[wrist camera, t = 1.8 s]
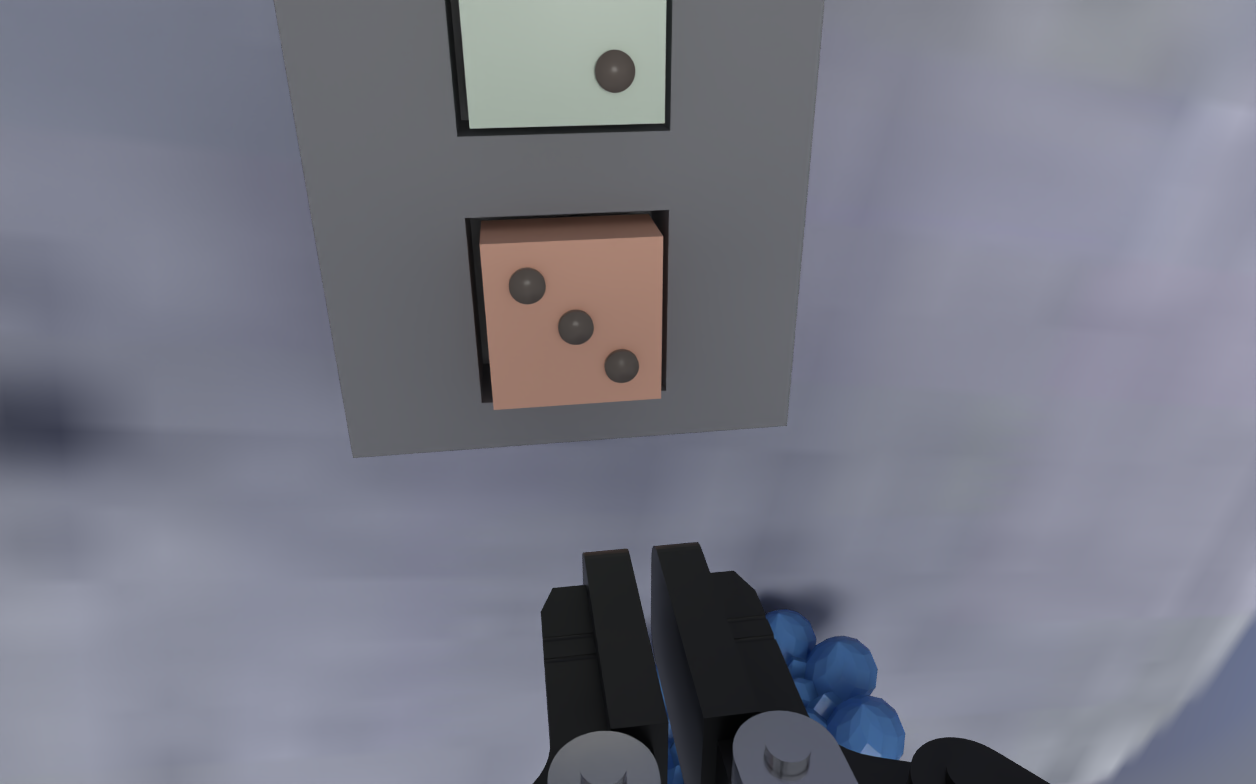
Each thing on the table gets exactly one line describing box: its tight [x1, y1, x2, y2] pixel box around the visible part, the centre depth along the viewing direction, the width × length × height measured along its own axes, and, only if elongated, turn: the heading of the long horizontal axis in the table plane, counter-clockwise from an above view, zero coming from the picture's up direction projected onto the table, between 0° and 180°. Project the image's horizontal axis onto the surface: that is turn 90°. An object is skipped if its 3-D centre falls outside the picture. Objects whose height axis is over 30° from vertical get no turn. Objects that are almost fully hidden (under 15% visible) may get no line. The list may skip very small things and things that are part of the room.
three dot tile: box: [480, 214, 663, 410], centre depth 25 cm, size 5×5×3 cm
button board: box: [274, 0, 824, 458], centre depth 23 cm, size 25×14×4 cm, turn 1°
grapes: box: [655, 609, 905, 784], centre depth 32 cm, size 12×7×12 cm, turn 100°
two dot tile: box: [459, 0, 666, 129], centre depth 21 cm, size 5×5×3 cm
